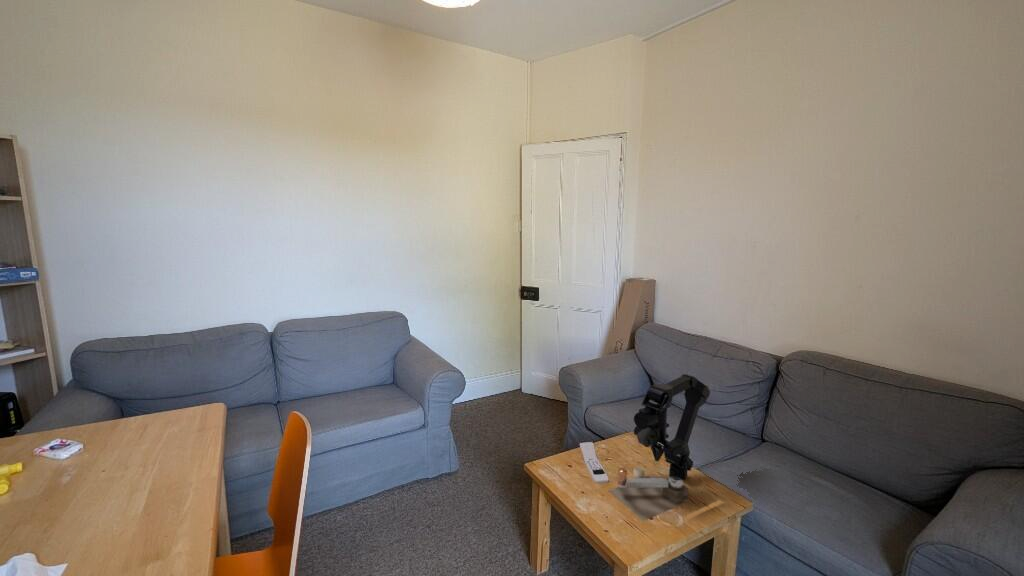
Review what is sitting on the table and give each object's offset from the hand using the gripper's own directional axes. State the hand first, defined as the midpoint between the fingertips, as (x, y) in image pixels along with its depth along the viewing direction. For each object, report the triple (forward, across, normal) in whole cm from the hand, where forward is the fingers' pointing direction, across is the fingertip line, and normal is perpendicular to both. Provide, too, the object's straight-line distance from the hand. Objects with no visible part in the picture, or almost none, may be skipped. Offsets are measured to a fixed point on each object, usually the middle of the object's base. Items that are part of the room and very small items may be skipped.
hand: (657, 460), depth 152 cm
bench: (+13, +1, -5) cm, 14 cm away
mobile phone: (+14, -23, -11) cm, 29 cm away
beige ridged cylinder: (+12, -5, -4) cm, 13 cm away
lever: (+7, +2, -5) cm, 9 cm away
